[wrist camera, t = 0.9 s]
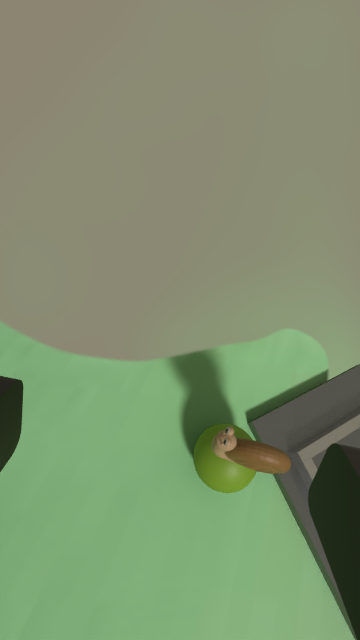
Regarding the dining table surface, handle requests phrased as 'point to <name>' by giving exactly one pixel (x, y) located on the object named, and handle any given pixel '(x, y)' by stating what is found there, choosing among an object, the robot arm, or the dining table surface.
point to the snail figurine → (234, 458)
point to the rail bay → (313, 449)
